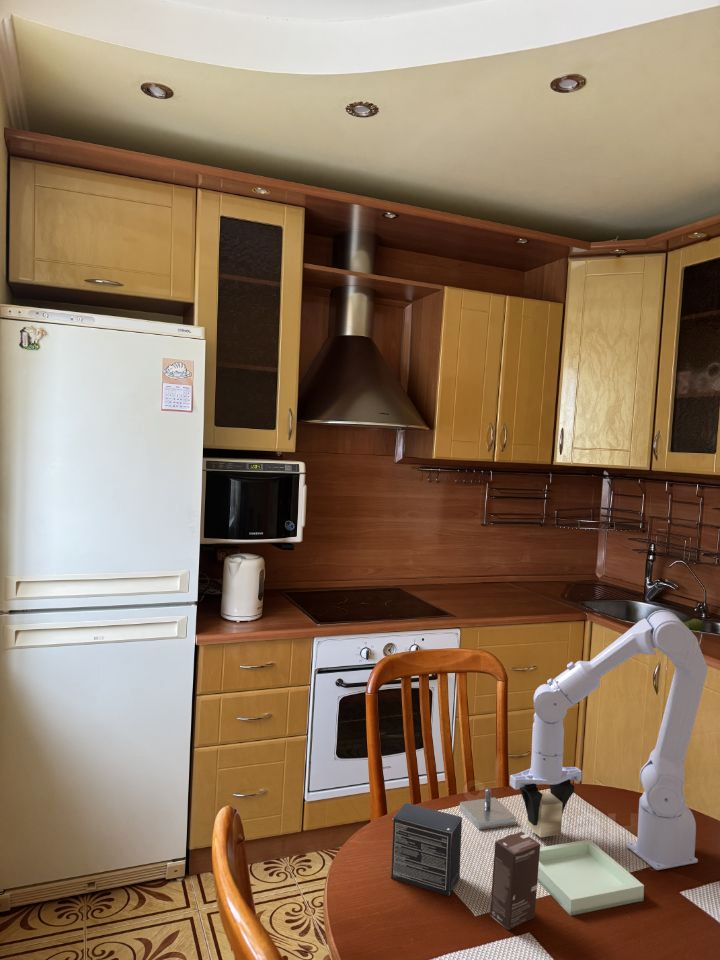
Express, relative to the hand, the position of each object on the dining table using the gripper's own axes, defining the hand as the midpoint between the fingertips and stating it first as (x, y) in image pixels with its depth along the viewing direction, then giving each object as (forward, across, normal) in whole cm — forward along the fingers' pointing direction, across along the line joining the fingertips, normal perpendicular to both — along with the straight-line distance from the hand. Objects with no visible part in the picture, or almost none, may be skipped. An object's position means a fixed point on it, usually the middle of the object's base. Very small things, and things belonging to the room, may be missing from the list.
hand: (544, 820), depth 130 cm
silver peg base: (+3, +7, -9) cm, 12 cm away
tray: (+3, +2, +14) cm, 14 cm away
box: (+3, +18, +19) cm, 26 cm away
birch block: (+2, 0, 0) cm, 2 cm away
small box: (+3, +27, +6) cm, 28 cm away
